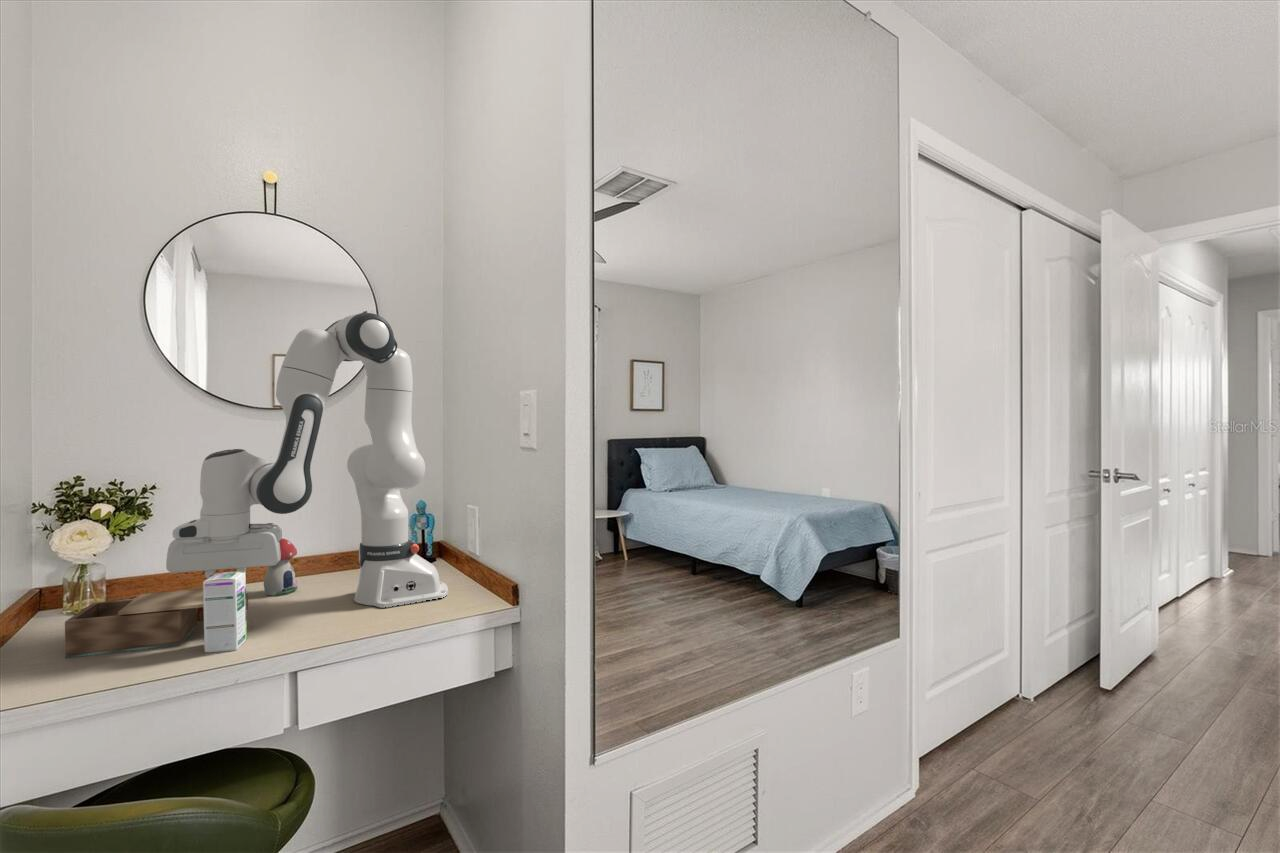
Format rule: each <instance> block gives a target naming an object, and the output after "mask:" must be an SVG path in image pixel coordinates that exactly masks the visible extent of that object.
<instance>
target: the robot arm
mask: <svg viewBox="0 0 1280 853" xmlns="http://www.w3.org/2000/svg"><path fill="white" fill-rule="evenodd" d="M342 362H361V363H362V364H363V366H364V369H365V373H366V382H365V383H366V386H365V401H364V417H363V418H364V422H365V424H366V426H367V427H368V430H369V434H370V436H371V437H370V438H371V442H372V443H369V444H365V445H362V446H360V447H357V448H355V449H354V450H352V452H350V454H349V456H348V458H347V461H346V462H347V464H346V466H347V471H348V473H349V475H350V476H351V478H352V480H353V482H354V487H355V490H356V495H357V500H358V504H359V509H360V518H361V519H360V520H361V522H360V523H361V524H360V525H361V528H360V529H361V530H360V531H361V542H359V543H360V544H359V549H358V563H359V566H360V567H359V569H360V570H359V578H358V583H357V586H356V587H357V588H356V591H355V595H354V598H353V600H354V602H355V603H358V604H361V605H366V606H374V607H377V608H382V609H384V608H385V607H386V608H391V607H392V606H393V607H398V606H397V605H399V606H403V605H404V604H405V605H409V604H410V603H411V604H416V603H415V602H417V603H422V601H423V602H427V601H426V600H430V601H433V600H432V599H436V600H439V599H438V598H442V599H444V598H445V596H446V595H448V594H449V588H448V585H447V584H446V583H445V582H444V581H441V580H440V576H439V575H440V574H439V572H438V570H437V568H436V566H435V565H433V563H431V562H429V561H428V560H427V559H424V558H423V557H421V556H420V555H419V554H417V553H418V552H419V550H420V546H419V544H417V543H416V542H415V541H414V540H411V539H409V509H408V507H407V506H406V504H405V502H404V500H403V498H402V495H401V491H403V490H408V489H411V488H412V489H413V488H415V487H416V486H418V485H419V484H420V483H421V482H422V481H423V479H424V476H425V474H426V463H425V460H424V458H423V456H422V455H421V454H420V451H419V449H418V447H417V444H416V439H415V435H414V431H413V420H412V418H413V416H412V414H413V394H414V393H413V390H414V379H413V377H414V376H413V367H412V361H411V357H410V354H408V353H407V352H406V351H405V350H403V349H401V348H398V342H397V341H396V339H395V335H394V331H393V329H392V326H391V325H390V323H389V322H388V321H387V319H385V318H384V317H383V316H381V315H378V314H376V313H372V312H361V313H355V314H351V315H346V316H345V317H344V318H342V319H339V320H336V321H334V322H333V323H332V324H331V325H329V326H328V327H327V328H325V330H323V329H321V328H316V327H315V328H314V327H313V328H312V327H309V328H304V329H301V330H300V331H299V332H297V334H296V336H294V339H293V341H292V342H291V343H290V345H289V347H288V350H287V351H286V354H285V357H284V359H283V361H282V364H281V366H280V370H279V373H278V376H277V379H276V387H275V397H276V400H277V402H278V403H279V405H280V406H281V408H282V410H283V412H284V416H285V428H284V433H283V436H282V439H281V444H280V448H279V450H278V451H279V452H278V455H277V458H276V461H275V462H273V461H270V460H267V459H264V458H261V457H258V456H257V455H253V454H251V453H249V451H246V449H243V448H233V449H224V450H221V451H216V452H213V453H210V454H209V455H207V456H206V457H205V458H204V460H203V462H202V465H201V468H200V469H201V470H200V479H199V492H200V493H199V494H200V496H201V499H202V500H201V501H202V504H201V508H200V512H199V515H200V516H199V517H200V518H198V519H193V520H190V521H188V522H185V523H182V524H180V525H178V526H177V527H175V528H174V529H173V530H172V538H173V539H174V540H172V541H171V542H170V543H169V545H168V548H167V552H166V553H167V554H166V561H165V562H166V563H165V566H166V570H167V571H168V572H169V573H171V574H180V573H181V574H182V573H193V572H194V573H195V572H204V576H205V578H206V580H207V579H208V578H210V577H212V576H213V575H214V574H215V573H216V571H221V570H231V569H234V570H235V569H236V572H245V573H246V572H247V568H259V567H269V566H274V565H276V564H277V563H278V562H279V561H280V559H281V551H280V544H279V541H280V540H281V539H283V538H282V533H283V532H282V528H281V527H280V526H279V525H278V524H275V523H273V522H267V523H251V507H252V506H253V505H261V506H263V508H265V509H266V510H267V511H269V512H271V513H273V514H277V515H279V514H280V515H287V514H291V513H294V512H296V511H298V510H300V509H302V508H303V507H304V506H305V505H306V504H307V503H308V502H309V500H310V497H311V495H312V494H313V493H312V491H313V481H312V476H311V464H312V459H313V456H314V451H315V447H316V444H317V439H318V435H319V430H320V427H321V426H320V425H321V422H322V418H323V414H324V411H325V407H326V404H327V402H328V399H329V396H330V393H331V391H332V387H333V383H334V381H335V377H336V374H337V370H338V368H339V366H340V365H341V364H342ZM443 597H444V598H443ZM446 597H447V596H446ZM411 604H410V605H411ZM393 607H392V608H393ZM386 608H385V609H386Z"/></svg>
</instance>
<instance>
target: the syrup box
mask: <svg viewBox="0 0 1280 853" xmlns="http://www.w3.org/2000/svg"><path fill="white" fill-rule="evenodd" d="M246 577H247V576H246V572H237V571H225V572H215V573H214V574H213V576H212V577H210V578H208V579H207V578H206V580H204V581H202V589H203V609H204V621H203V632H204V633H203V634H204V635H203V637H204V638H203V641H204V644H203V645H204V653H220V652H221V653H223V652H231V651H237V650H239V648H240V647H241V646H242V645H243V644H244V643H245V642H246V641H247V639H248V629H247V628H248V627H247V626H248V625H247V624H248V622H247V610H246V594H247V585H246V584H247V583H246V581H247V579H246Z"/></svg>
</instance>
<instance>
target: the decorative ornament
mask: <svg viewBox="0 0 1280 853" xmlns="http://www.w3.org/2000/svg"><path fill="white" fill-rule="evenodd" d="M279 544H280V551H281V559H280V561H279V562H278V563H277V564H276V565H274V566H267V567H268V568H267V570H266V572H265V573H264V574H265V575H264V577H263V578H264V579H263V588H264V592H265V594H266V595H267V596H275V597H280V596H284V595H289V594H292V593H295V592H296V590H297V589H298V586H299V583H298V581H297V579H296V573H295V569H294V567H293V566H292V564H291V562H290V560H293V558H294V557H295V556H297V554H298V550H297V547H296V546H295V545H294V544H293V543H292V542H291V541H290V540H288V539H286V538H281V540H280V541H279Z"/></svg>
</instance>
